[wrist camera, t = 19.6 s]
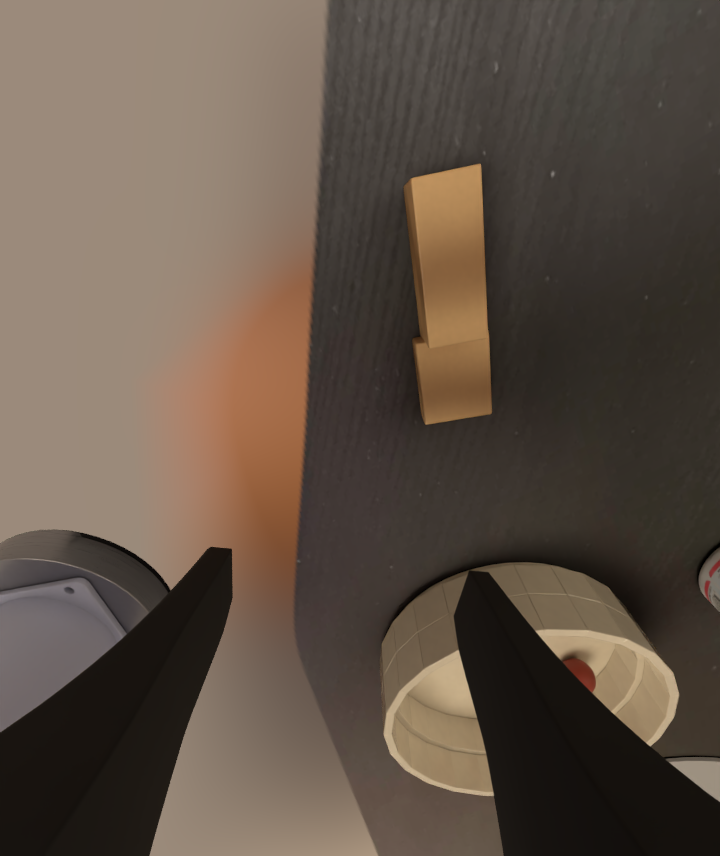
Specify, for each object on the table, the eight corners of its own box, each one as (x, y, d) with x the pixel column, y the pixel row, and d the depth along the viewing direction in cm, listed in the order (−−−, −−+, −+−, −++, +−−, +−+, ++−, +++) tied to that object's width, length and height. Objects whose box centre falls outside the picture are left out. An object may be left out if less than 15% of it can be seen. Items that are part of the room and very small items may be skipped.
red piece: (605, 683, 27) (598, 706, 25) (572, 681, 28) (564, 702, 26) (590, 651, 27) (582, 672, 25) (558, 651, 28) (549, 670, 27)
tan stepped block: (392, 188, 16) (398, 180, 13) (474, 171, 15) (493, 160, 13) (421, 415, 20) (429, 437, 18) (485, 404, 20) (501, 425, 17)
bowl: (401, 728, 32) (409, 808, 28) (356, 582, 25) (356, 658, 20) (615, 699, 31) (660, 778, 26) (634, 535, 23) (700, 606, 19)
